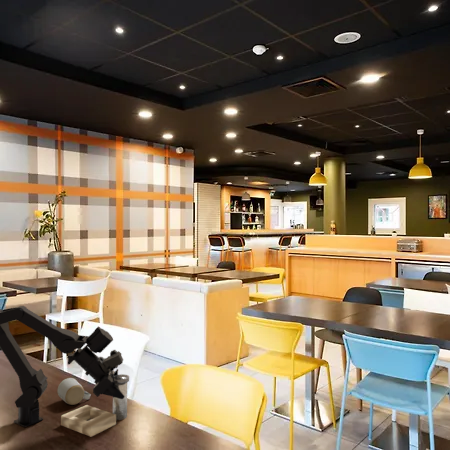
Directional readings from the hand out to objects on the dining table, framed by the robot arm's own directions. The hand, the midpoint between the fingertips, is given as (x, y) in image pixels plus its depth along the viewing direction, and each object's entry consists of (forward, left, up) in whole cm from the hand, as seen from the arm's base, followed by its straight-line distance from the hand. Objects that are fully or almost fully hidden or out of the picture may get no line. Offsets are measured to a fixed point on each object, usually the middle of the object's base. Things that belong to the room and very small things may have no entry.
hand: (124, 395), depth 140 cm
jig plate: (-5, -10, -7) cm, 14 cm away
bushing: (-1, -1, -7) cm, 7 cm away
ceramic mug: (-25, 0, -7) cm, 26 cm away
